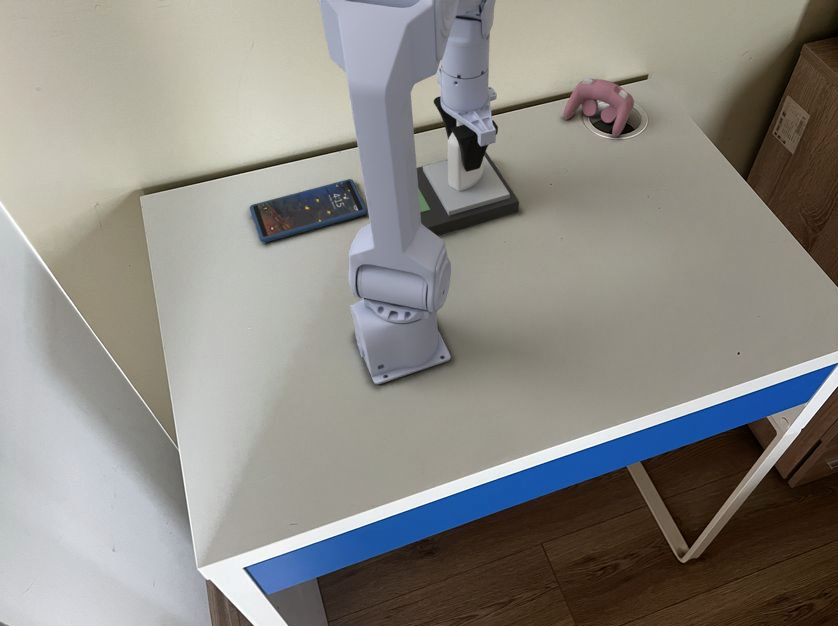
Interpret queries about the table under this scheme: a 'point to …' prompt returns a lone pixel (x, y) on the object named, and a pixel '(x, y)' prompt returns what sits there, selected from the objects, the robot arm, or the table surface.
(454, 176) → the eye dropper bottle
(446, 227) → the scale
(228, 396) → the table surface
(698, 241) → the table surface
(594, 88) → the video game controller
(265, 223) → the smartphone
